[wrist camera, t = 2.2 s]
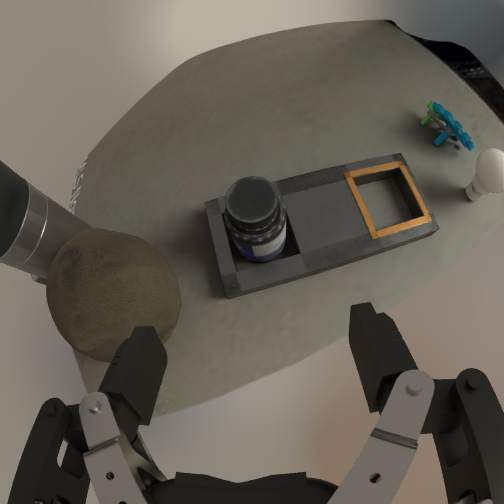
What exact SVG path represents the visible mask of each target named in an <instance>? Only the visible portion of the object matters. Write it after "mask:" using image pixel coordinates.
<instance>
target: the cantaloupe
mask: <svg viewBox="0 0 504 504" xmlns="http://www.w3.org/2000/svg"><path fill="white" fill-rule="evenodd" d="M46 295H47V302H48V306H49V310H50V313H51V315H52V318H53V321H54V323H55V325H56V326H57V329H58V331H59V332H60V333H61V335H62V336H63V338H64V339H65V340H66V341H67V342H68V343H69V344H70V345H71V346H72V347H73V348H75V349H76V350H77V351H79V352H81V353H83V354H84V355H86V356H88V357H90V358H93V359H95V360H99V361H103V362H111V361H112V359H113V357H114V355H115V353H116V351H117V349H118V347H119V346H120V345H121V344H122V342H123V341H124V340H125V339H126V338H130V336H131V333H132V331H133V329H134V328H135V327H137V326H153V327H154V328H155V330H156V332H157V334H158V336H159V338H160V340H161V342H162V344H164V343H165V342H166V341H167V339H168V338H169V336H170V335H171V333H172V332H173V330H174V328H175V326H176V324H177V321H178V317H179V312H180V309H181V295H180V290H179V286H178V283H177V280H176V278H175V275H174V273H173V271H172V270H171V268H170V266H169V264H168V263H167V261H166V260H165V259H164V257H163V256H162V255H161V254H160V253H159V252H158V251H157V250H155V249H154V248H153V247H152V246H151V245H150V244H148V243H147V242H146V241H144V240H142V239H141V238H139V237H135V236H132V235H128V234H123V233H119V232H114V231H109V230H105V229H97V228H96V229H89V230H86V231H83V232H81V233H79V234H77V235H75V236H74V237H72V238H71V239H69V240H68V241H67V242H66V243H65V244H64V245H63V246H62V247H61V248H60V249H59V251H58V252H57V254H56V255H55V257H54V259H53V261H52V263H51V265H50V268H49V271H48V275H47V281H46Z"/></svg>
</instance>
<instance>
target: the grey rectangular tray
mask: <svg viewBox="0 0 504 504" xmlns="http://www.w3.org/2000/svg"><path fill="white" fill-rule="evenodd" d="M391 177H394V179H395V181H396V183H397V185H398V187H399V189H400V191H401V193H402V195H403V197H404V199H405V201H406V203H407V205H408V207H409V209H410V211H411V214H412V216H413V218H414V219H412V220H409V221H406V222H403V223H400V224H396V225H393V226H390V227H387V228H384V229H380V230H377V231H376V229H375V227H374V225H373V222H372V220H371V218H370V215H369V213H368V211H367V209H366V206H365V204H364V202H363V200H362V197H361V195H360V193H359V191H358V189H357V187H356V186H358V185H362V184H366V183H370V182H375V181H379V180H383V179H387V178H391ZM271 184H272V185H273V186H274V187H275V189H276V191H277V194H278V195H279V196H280V197H281V199H282V201H283V202H284V205H285V209H286V220H287V223H288V226H289V229H290V232H291V235H292V238H293V241H294V244H295V247H296V250H297V253H298V254H297V255H294V256H291V257H287V258H284V259H280V260H277V261H273V262H270V263H267V264H263V265H260V266H256V267H253V268H249V269H246V270H242V271H239V272H238V269H237V266H236V262H235V258H234V254H233V250H232V246H231V242H230V238H229V234H228V230H227V226H226V224H225V218H224V213H225V208H226V204H225V198H226V196H223V197H220V198H216V199H213V200H210V201H207V202H205V207H206V212H207V216H208V221H209V225H210V230H211V234H212V239H213V243H214V247H215V252H216V256H217V260H218V264H219V269H220V273H221V277H222V281H223V285H224V289H225V293H226V296H227V297H229V298H230V299H231V298H235V297H238V296H242V295H246V294H249V293H253V292H256V291H260V290H263V289H267V288H270V287H274V286H277V285H281V284H284V283H288V282H291V281H294V280H298V279H301V278H304V277H308V276H311V275H314V274H317V273H321V272H324V271H327V270H330V269H333V268H337V267H340V266H343V265H346V264H349V263H352V262H355V261H358V260H361V259H364V258H367V257H370V256H373V255H376V254H379V253H382V252H385V251H388V250H391V249H394V248H397V247H400V246H403V245H406V244H408V243H411V242H414V241H417V240H420V239H423V238H425V237H428V236H431V235H432V234H434V233H435V232H436V231H437V230H438V229H440V228H439V226H438V224H437V222H436V219H435V217H434V215H433V213H432V211H431V209H430V206H429V204H428V202H427V200H426V198H425V196H424V194H423V192H422V190H421V188H420V186H419V185H418V183H417V181H416V179H415V177H414V175H413V173H412V172H411V170H410V168H409V166H408V165H407V163H406V161H405V159H404V158H403V156H402V154H401V153H398V154H392V155H387V156H382V157H377V158H372V159H367V160H362V161H358V162H353V163H349V164H344V165H340V166H335V167H331V168H327V169H323V170H318V171H314V172H310V173H306V174H302V175H298V176H294V177H290V178H287V179H283V180H279V181H275V182H272V183H271Z"/></svg>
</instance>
